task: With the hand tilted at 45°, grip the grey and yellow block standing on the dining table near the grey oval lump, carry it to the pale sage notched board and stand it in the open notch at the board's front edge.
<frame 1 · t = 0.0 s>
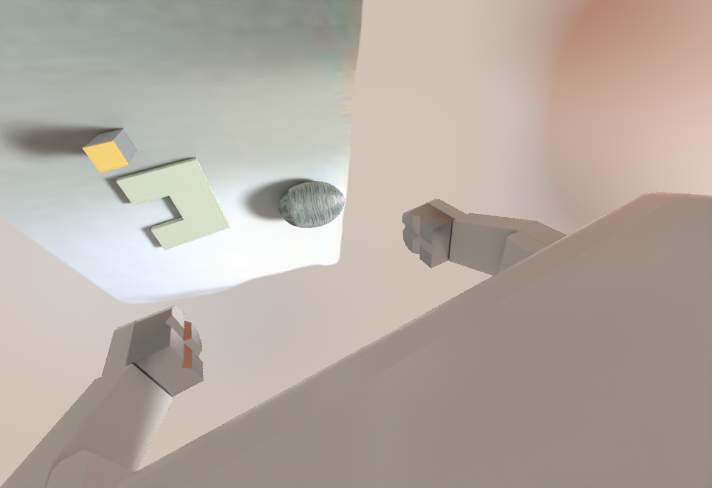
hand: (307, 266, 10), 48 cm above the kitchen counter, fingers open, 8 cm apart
grey and yellow block: (118, 141, 42), on the kitchen counter
notched board: (179, 203, 50), on the kitchen counter
grey oval lump: (306, 197, 62), on the kitchen counter
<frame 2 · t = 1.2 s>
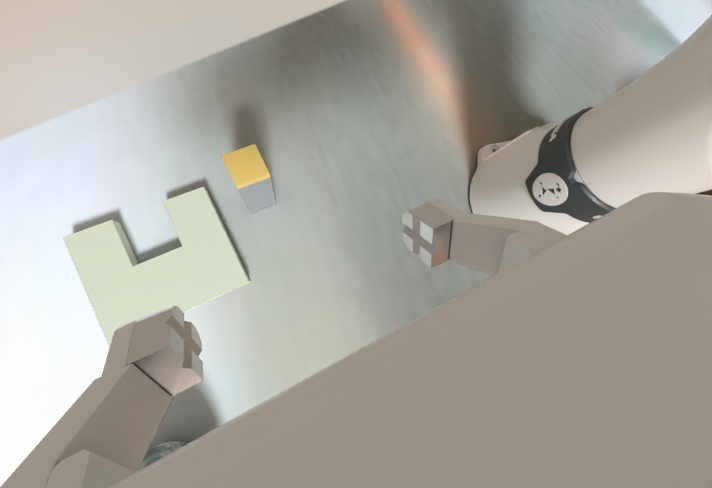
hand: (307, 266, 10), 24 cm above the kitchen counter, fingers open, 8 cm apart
grey and yellow block: (258, 197, 34), on the kitchen counter
notched board: (166, 261, 31), on the kitchen counter
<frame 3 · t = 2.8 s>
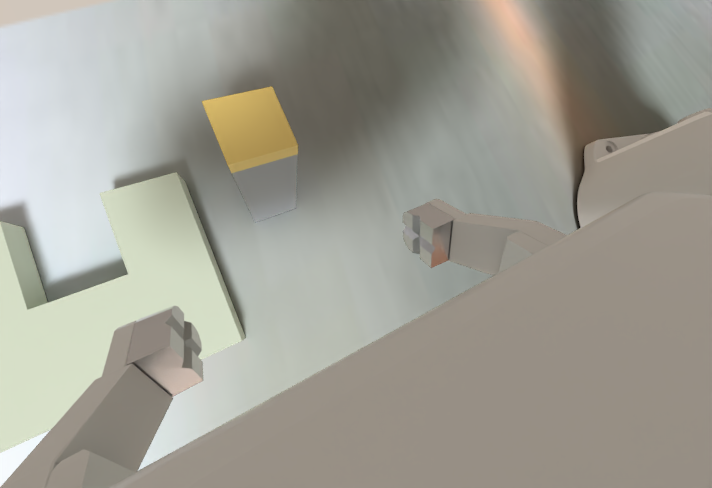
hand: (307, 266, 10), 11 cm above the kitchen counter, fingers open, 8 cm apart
grey and yellow block: (268, 196, 21), on the kitchen counter
notched board: (99, 299, 17), on the kitchen counter
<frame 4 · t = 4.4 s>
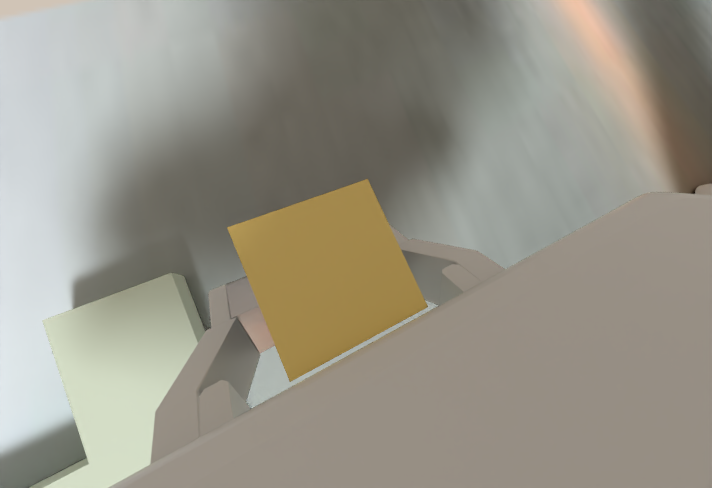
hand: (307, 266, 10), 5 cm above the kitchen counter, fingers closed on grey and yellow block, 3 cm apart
grey and yellow block: (306, 289, 14), on the kitchen counter, touching gripper
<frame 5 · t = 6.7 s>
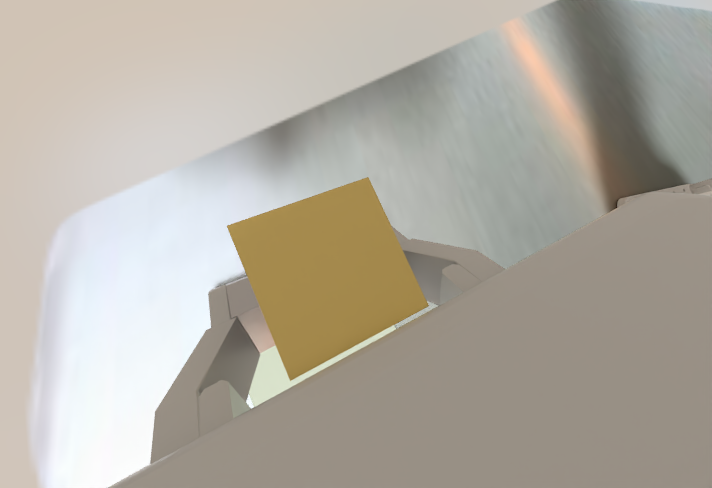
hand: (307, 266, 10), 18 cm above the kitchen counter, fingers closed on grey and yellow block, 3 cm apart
grey and yellow block: (306, 289, 14), point 13 cm above the kitchen counter, touching gripper
notched board: (314, 329, 27), on the kitchen counter
when the fingers open (7 cm above the kitchen counter, at t = 9.0 s): grey and yellow block drops 2 cm, on the kitchen counter.
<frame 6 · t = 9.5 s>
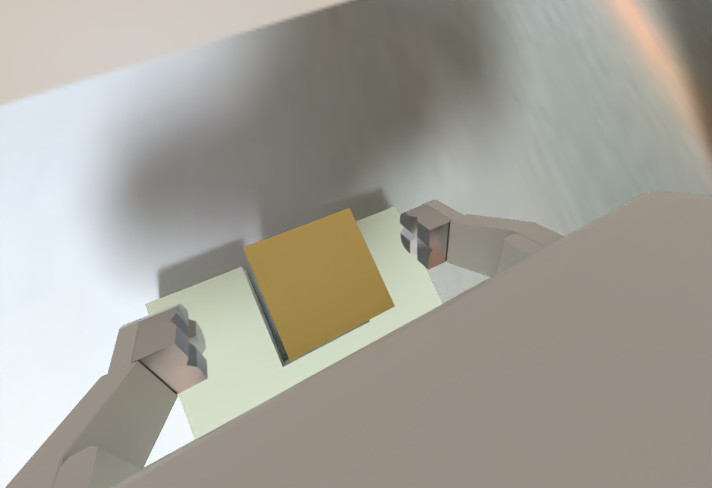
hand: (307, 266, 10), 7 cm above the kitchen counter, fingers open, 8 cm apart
grey and yellow block: (304, 291, 16), on the kitchen counter
notched board: (328, 347, 16), on the kitchen counter
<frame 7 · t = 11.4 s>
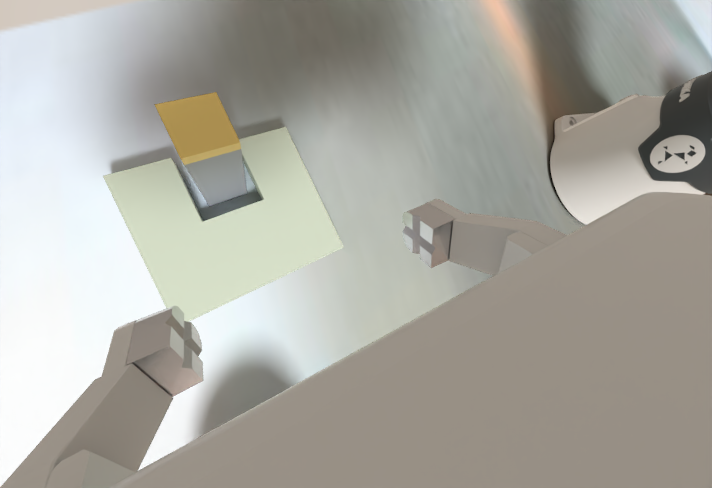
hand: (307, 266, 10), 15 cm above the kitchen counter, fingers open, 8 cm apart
grey and yellow block: (220, 183, 24), on the kitchen counter
notched board: (238, 220, 24), on the kitchen counter
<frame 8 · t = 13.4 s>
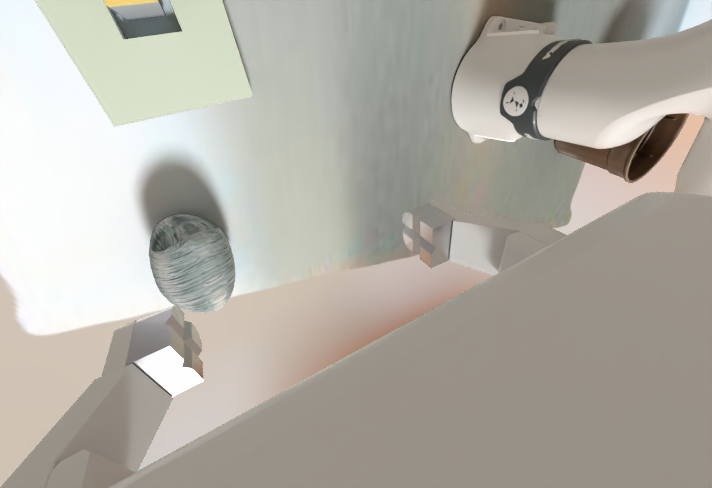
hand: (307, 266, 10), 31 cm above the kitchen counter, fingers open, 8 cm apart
plant pot: (571, 126, 65), on the kitchen counter
notched board: (158, 42, 27), on the kitchen counter
grey oval lump: (195, 249, 39), on the kitchen counter
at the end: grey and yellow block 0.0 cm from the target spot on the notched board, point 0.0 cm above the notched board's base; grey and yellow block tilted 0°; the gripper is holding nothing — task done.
